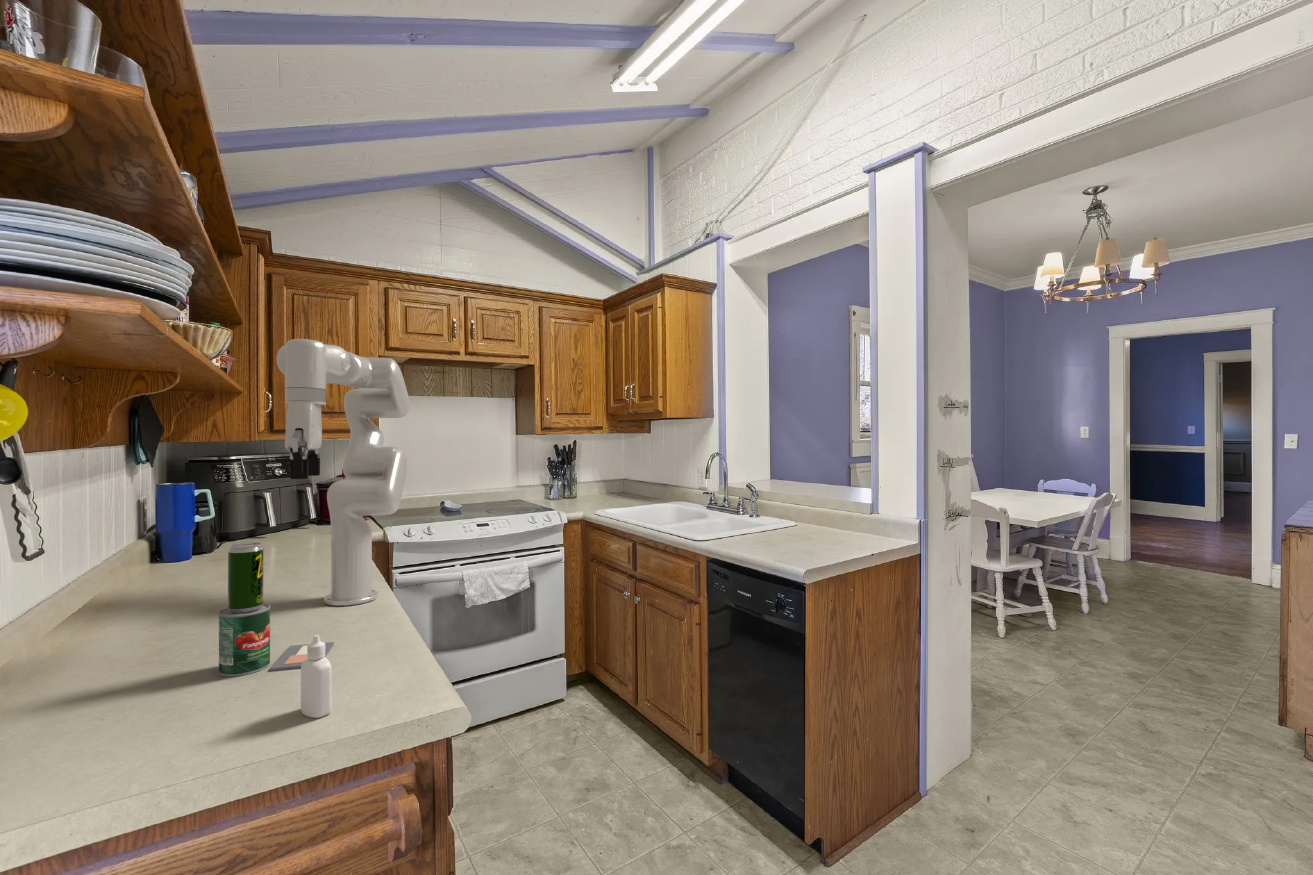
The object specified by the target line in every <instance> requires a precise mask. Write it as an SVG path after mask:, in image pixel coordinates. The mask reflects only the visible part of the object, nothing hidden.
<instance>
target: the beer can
mask: <svg viewBox="0 0 1313 875" xmlns="http://www.w3.org/2000/svg"><path fill="white" fill-rule="evenodd" d="M262 545H263V543H262V542H259V541H256V542H255V541H251V542H247V541H246V542H239V543H233V544H230V545H229V549H228V551H227V608H229V610H230V612H232V613H243V612H250V611H254V610H257V609H259V608H261V606H262V604H264V547H263V546H262Z"/></svg>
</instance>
